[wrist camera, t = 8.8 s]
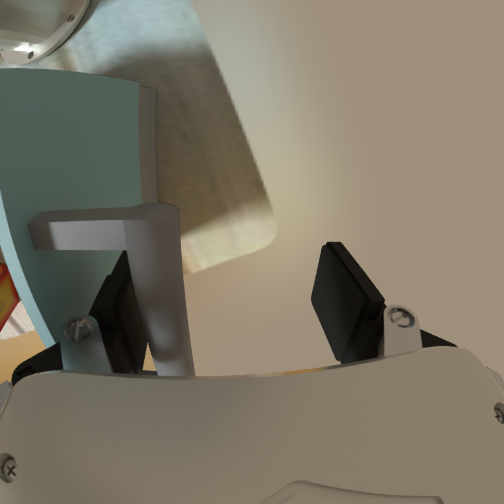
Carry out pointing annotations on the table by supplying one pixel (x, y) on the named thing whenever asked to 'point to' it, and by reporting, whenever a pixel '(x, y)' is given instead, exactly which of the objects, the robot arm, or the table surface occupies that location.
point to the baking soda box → (6, 295)
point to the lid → (85, 207)
